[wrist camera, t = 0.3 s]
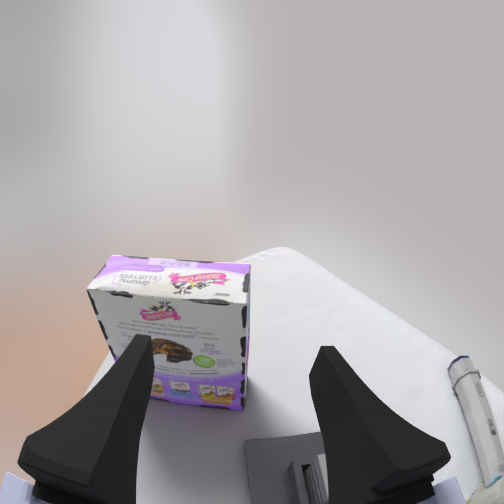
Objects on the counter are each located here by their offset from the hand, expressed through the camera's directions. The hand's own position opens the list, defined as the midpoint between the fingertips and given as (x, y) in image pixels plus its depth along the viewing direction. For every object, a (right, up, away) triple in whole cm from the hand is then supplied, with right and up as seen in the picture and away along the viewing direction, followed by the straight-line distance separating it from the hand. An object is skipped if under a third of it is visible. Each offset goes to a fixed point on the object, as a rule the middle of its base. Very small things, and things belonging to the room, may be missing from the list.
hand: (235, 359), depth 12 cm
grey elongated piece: (+28, -19, +11) cm, 35 cm away
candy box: (-7, -12, +21) cm, 25 cm away
